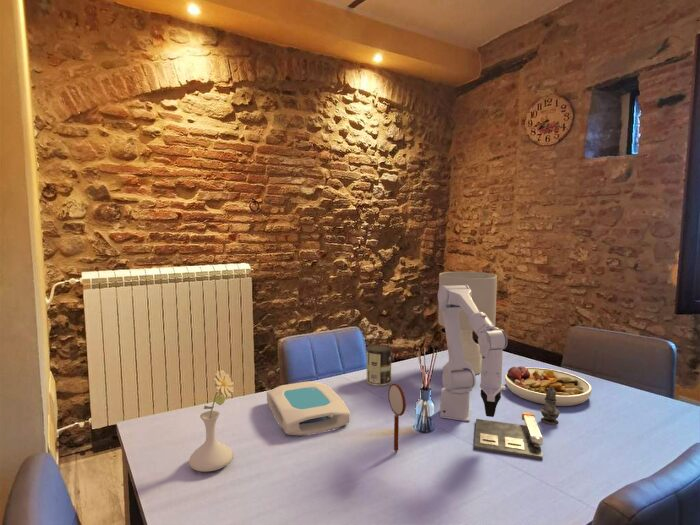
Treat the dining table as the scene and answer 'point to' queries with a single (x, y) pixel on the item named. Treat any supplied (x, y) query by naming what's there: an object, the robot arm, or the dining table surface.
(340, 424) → the document scanner
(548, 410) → the grey tall carved piece
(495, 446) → the label panel
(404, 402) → the magnifying glass
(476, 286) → the lamp
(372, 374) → the coffee can
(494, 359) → the robot arm
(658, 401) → the dining table surface
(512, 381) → the bowl
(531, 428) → the swing arm
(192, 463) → the flower in vase
